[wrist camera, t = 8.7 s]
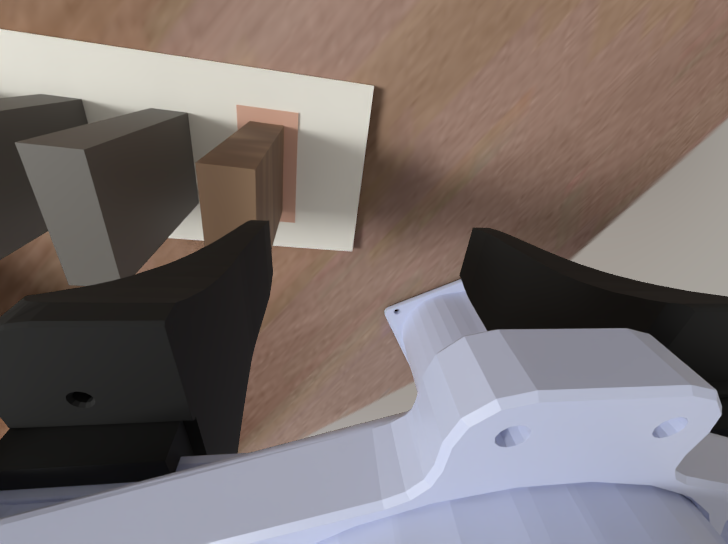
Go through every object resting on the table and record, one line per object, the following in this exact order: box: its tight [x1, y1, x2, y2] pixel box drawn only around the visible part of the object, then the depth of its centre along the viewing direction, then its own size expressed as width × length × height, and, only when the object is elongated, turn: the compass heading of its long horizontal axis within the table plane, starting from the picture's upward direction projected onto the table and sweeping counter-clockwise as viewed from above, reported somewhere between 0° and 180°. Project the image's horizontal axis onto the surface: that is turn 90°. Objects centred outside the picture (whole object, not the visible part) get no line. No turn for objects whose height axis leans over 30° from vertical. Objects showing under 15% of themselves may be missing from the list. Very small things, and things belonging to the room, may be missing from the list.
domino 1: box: [0, 94, 88, 260], centre depth 14 cm, size 2×5×9 cm, turn 172°
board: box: [0, 29, 374, 251], centre depth 18 cm, size 31×10×1 cm, turn 82°
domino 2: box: [15, 108, 199, 286], centre depth 15 cm, size 2×5×9 cm, turn 172°
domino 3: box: [195, 121, 284, 249], centre depth 16 cm, size 2×5×9 cm, turn 172°
